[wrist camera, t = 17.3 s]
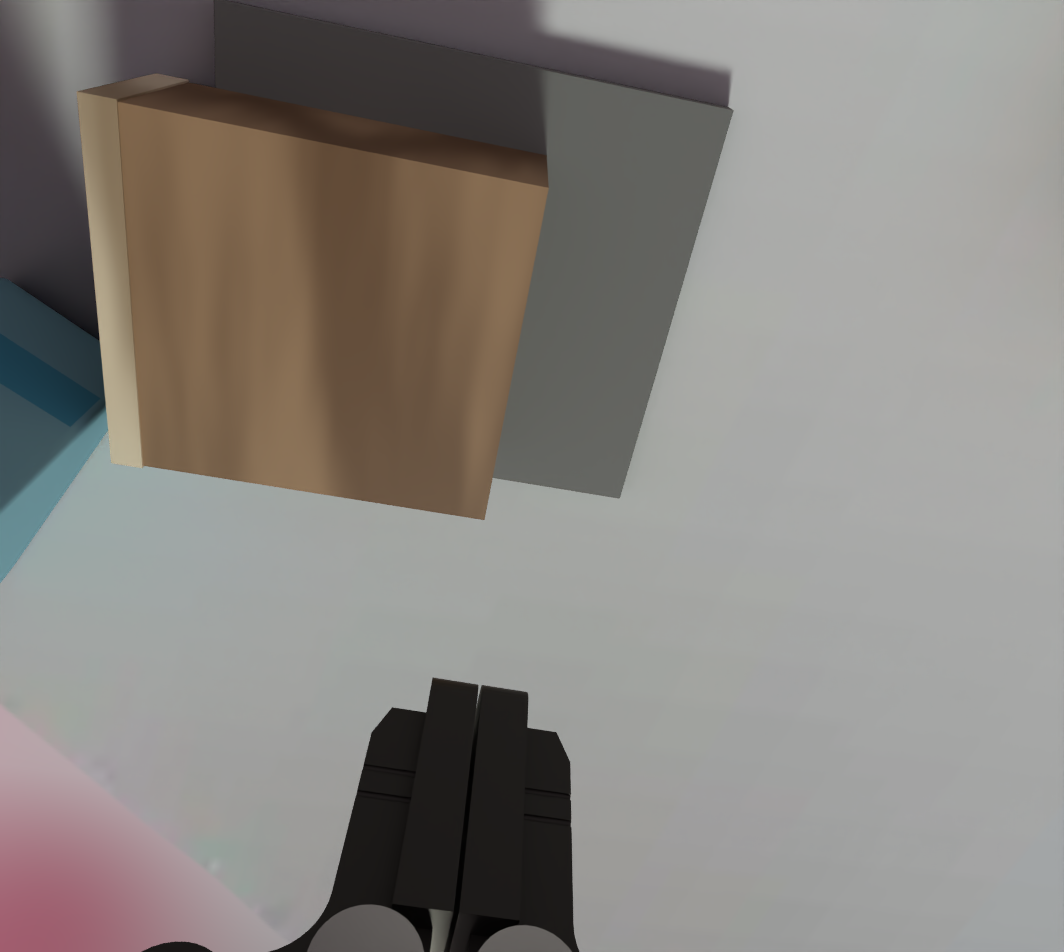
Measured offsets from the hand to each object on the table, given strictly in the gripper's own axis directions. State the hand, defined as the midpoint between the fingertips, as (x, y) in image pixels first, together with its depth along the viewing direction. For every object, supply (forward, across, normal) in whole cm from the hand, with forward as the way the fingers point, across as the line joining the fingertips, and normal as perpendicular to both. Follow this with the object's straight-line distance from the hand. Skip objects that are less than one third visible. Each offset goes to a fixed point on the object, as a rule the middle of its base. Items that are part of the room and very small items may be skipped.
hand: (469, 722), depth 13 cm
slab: (+12, 0, -2) cm, 12 cm away
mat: (+14, +2, -2) cm, 15 cm away
